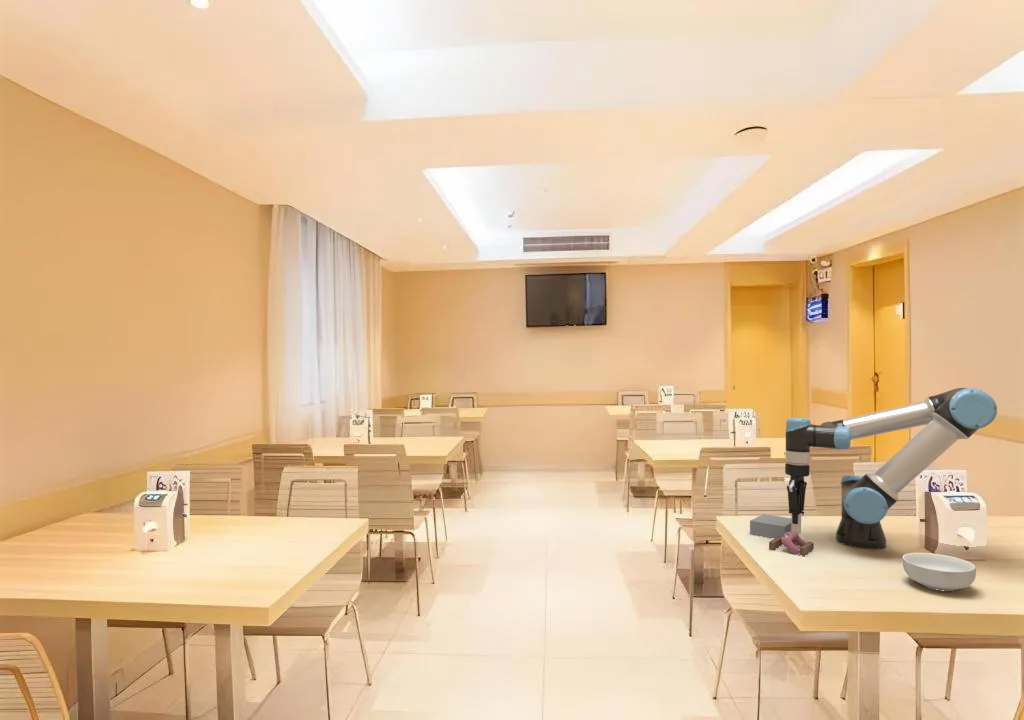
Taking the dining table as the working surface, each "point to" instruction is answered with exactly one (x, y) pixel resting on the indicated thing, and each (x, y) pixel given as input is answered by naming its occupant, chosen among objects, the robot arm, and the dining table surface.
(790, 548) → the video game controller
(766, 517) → the charcoal stand
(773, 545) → the walnut guide rails
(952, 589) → the cereal bowl
